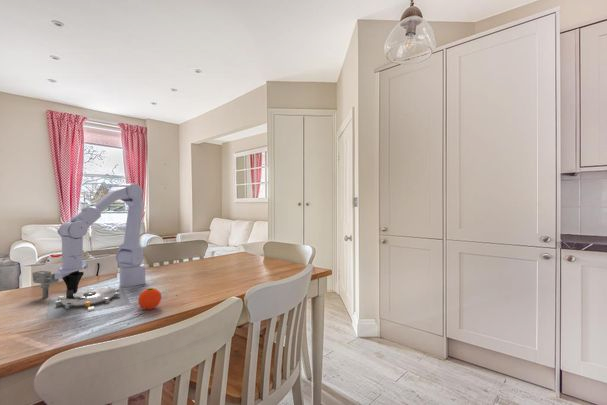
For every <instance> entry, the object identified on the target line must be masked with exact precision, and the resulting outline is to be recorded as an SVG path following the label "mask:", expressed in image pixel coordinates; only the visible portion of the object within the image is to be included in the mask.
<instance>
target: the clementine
mask: <svg viewBox="0 0 607 405" xmlns="http://www.w3.org/2000/svg"><path fill="white" fill-rule="evenodd" d="M161 301H162V293H161V291H159V289H157V288H154V287H148V288H146V289H144V290H143V291H141V292H140V294H139V296H138V305H139V306H140V307H141V309H143V310H153V309H154V308H157V307H158V306H159V304H160V302H161Z"/></svg>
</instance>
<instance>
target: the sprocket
mask: <svg viewBox="0 0 607 405" xmlns="http://www.w3.org/2000/svg"><path fill="white" fill-rule="evenodd" d="M112 288H113V287H112ZM112 288H111V287H110V286H106V287H97V288H95V287H89V288H88V289H82V290H77V293H75V294H74V289H67V288H66V290H65V293H66V294H65V295H59V296H57V297H58V301H55V306H56V307H58V306H64V307H65V309H70V308H72V307H84V306H85V308H86V307H90V306H91V305H96V304H100V303H108V302H109V300H111V299H113V298H117V297H119V296H120V292H119V288H117V287H116V288H117V289H112Z"/></svg>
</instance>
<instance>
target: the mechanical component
mask: <svg viewBox="0 0 607 405" xmlns="http://www.w3.org/2000/svg"><path fill="white" fill-rule="evenodd" d="M55 273H56V272H52V271H47V270H37V271H34V272H32V274H31V275H32V282H33V283H34V284H41V286H40V289H42V298H48V297H49V289H50V287H51V285H52V284H55V283H58V282H59V280H60V279H55Z"/></svg>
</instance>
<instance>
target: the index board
mask: <svg viewBox="0 0 607 405" xmlns="http://www.w3.org/2000/svg"><path fill="white" fill-rule="evenodd" d="M117 288H119V292H120V296H119V297H117V298H113V299H111V300H109V302H108V303H100V304H96V305H91V306H90V307H86V308H85V306H84V307H72V308H70V309H65V307H64V306H58V307H56V306H55V301H58V297H59V296H53V297H50V298H49V303H48V307H47V311H46V315H45V318H44V321H48V320H53V319H60V318H63V317H64V318H65V317H69V316H74V315H80V314H85V313H90V312H94V311H95V312H96V311H100V310H101V311H102V310H106V309H112V308H116V307H117V308H118V307H123V306H127V305H131V302H130V300H129V297H128V296H127V295H128V294H126V292H125V290H124V287H122V286H118V287H117V286H116V287H112V289H117Z"/></svg>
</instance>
